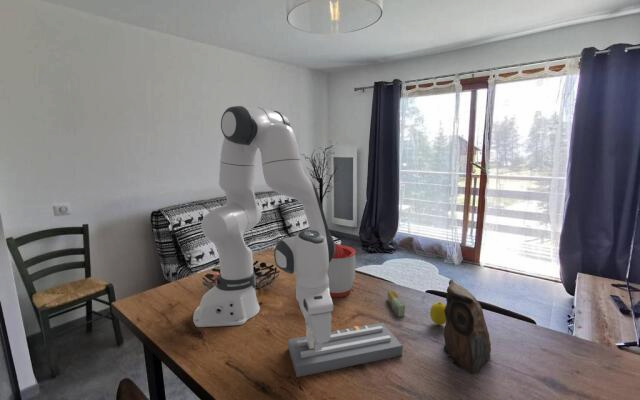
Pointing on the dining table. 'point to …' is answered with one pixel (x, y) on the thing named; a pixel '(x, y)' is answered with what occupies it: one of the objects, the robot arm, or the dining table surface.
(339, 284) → the citrus juicer
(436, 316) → the lemon
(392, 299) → the medication box
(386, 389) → the dining table surface
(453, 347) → the owl
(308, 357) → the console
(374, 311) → the dining table surface
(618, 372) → the dining table surface
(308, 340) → the fader
